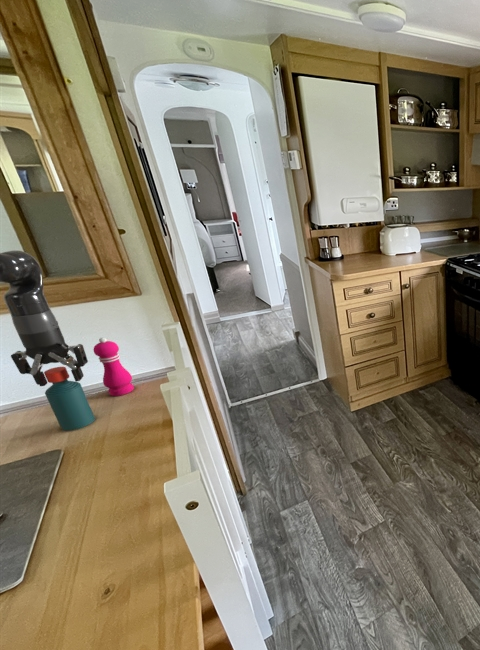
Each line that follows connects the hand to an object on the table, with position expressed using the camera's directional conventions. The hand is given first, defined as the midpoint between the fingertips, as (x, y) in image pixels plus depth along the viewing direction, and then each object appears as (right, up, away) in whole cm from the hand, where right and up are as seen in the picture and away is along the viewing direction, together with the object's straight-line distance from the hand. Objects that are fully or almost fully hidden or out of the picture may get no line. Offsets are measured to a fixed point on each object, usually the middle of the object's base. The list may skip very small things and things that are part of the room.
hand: (61, 382), depth 106 cm
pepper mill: (-4, -6, +23) cm, 24 cm away
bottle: (-1, -13, +6) cm, 14 cm away
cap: (-1, +1, 0) cm, 1 cm away
